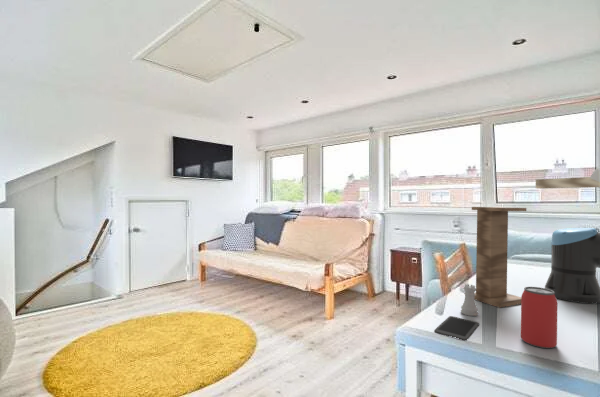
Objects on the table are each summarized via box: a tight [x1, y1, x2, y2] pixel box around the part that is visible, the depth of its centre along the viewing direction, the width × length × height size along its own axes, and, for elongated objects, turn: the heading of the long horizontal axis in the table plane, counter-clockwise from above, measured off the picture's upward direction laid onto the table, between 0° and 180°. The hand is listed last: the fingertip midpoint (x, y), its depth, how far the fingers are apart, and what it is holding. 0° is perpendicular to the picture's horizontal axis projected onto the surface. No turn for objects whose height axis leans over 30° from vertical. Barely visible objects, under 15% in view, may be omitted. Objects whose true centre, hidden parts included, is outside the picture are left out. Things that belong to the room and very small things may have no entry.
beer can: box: [520, 286, 559, 349], centre depth 73 cm, size 7×7×12 cm
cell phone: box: [434, 315, 480, 341], centre depth 81 cm, size 7×14×1 cm, turn 140°
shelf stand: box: [471, 206, 527, 309], centre depth 104 cm, size 10×12×30 cm
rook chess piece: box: [460, 283, 479, 317], centre depth 92 cm, size 4×4×8 cm
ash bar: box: [535, 176, 600, 189], centre depth 84 cm, size 20×4×2 cm, turn 24°
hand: (599, 173), depth 81 cm, fingers closed on ash bar, 4 cm apart
